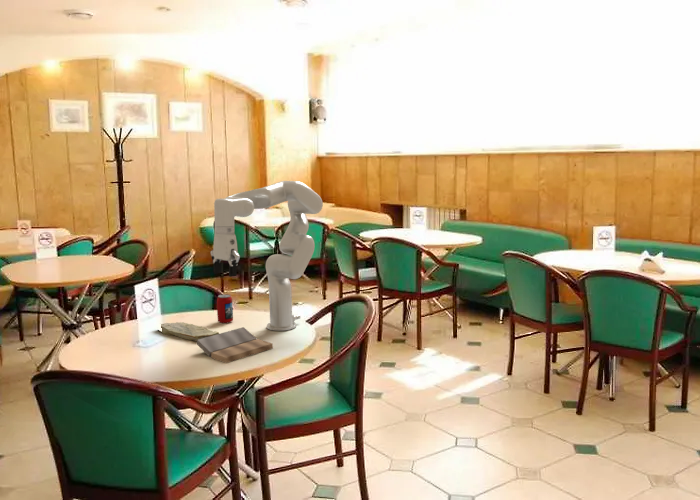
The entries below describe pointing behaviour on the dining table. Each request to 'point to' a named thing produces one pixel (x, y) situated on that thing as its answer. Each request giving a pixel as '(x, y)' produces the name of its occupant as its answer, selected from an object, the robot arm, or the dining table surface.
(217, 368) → the dining table surface
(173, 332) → the stone slab
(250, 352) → the walnut board
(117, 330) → the dining table surface
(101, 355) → the dining table surface
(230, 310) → the beverage can
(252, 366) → the dining table surface
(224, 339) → the smoked oak plank
